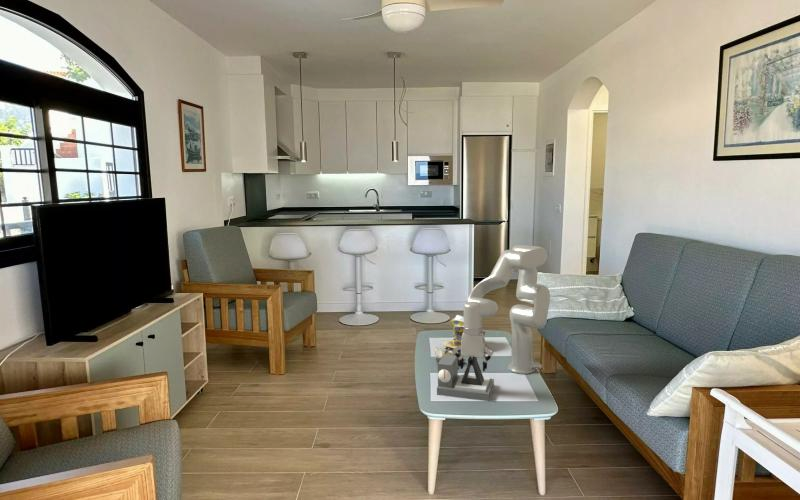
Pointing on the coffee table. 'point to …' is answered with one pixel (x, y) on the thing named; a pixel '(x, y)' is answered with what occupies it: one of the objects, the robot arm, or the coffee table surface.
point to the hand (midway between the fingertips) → (473, 368)
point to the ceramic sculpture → (440, 353)
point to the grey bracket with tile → (452, 382)
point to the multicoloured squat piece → (457, 332)
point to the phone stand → (478, 373)
